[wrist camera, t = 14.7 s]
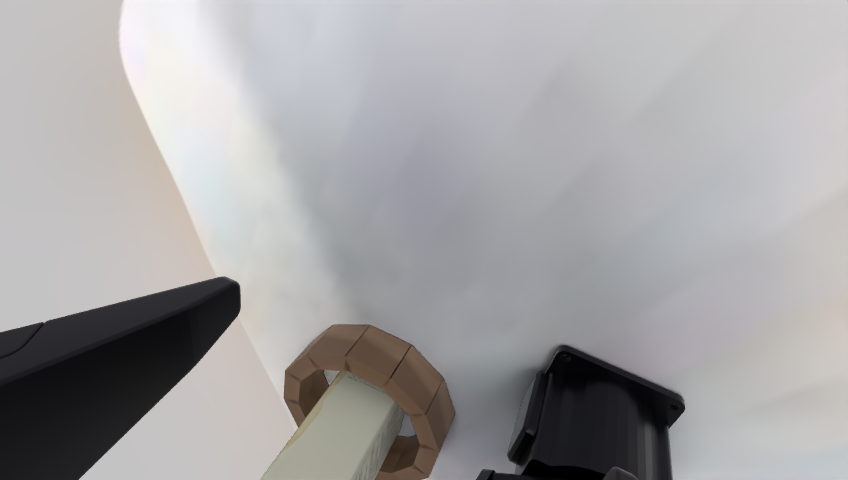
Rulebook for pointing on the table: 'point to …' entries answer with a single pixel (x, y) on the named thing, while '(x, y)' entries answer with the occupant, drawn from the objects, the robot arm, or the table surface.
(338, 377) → the skincare box
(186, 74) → the table surface
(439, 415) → the walnut ring
